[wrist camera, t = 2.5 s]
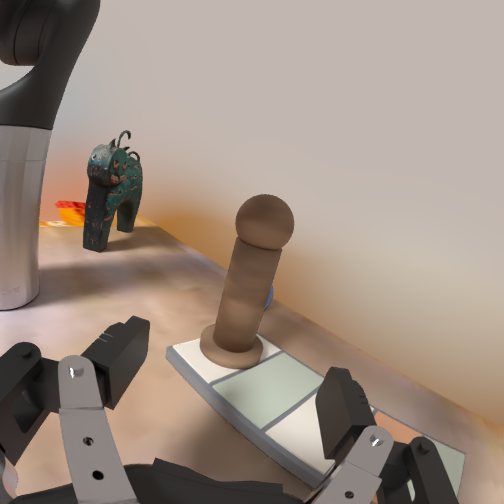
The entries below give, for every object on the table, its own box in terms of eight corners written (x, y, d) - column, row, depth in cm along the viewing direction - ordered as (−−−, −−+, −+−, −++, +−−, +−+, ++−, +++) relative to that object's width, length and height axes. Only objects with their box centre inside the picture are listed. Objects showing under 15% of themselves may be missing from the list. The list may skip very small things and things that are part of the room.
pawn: (187, 339, 23) (220, 182, 20) (231, 327, 27) (267, 192, 24) (228, 377, 20) (279, 199, 16) (272, 357, 24) (321, 209, 21)
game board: (165, 357, 22) (167, 345, 22) (244, 333, 29) (247, 323, 29) (431, 544, 5) (446, 537, 5) (457, 461, 13) (467, 451, 12)
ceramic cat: (100, 257, 38) (123, 125, 33) (68, 248, 37) (87, 121, 32) (140, 231, 57) (159, 140, 52) (115, 225, 56) (132, 135, 51)
